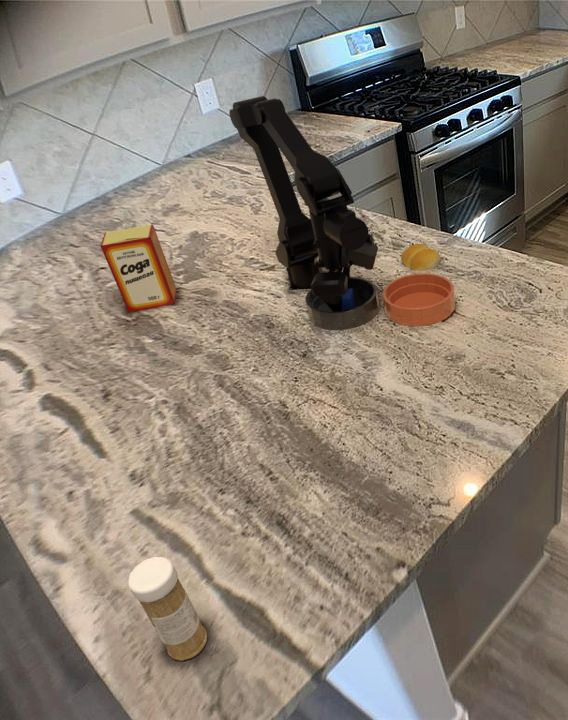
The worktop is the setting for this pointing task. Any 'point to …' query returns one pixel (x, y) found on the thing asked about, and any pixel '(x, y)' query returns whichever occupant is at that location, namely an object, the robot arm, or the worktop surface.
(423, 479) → the worktop surface
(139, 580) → the sprinkles bottle
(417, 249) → the bread roll
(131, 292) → the baking soda box
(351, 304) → the blue block
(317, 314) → the charcoal bowl
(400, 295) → the terracotta bowl
